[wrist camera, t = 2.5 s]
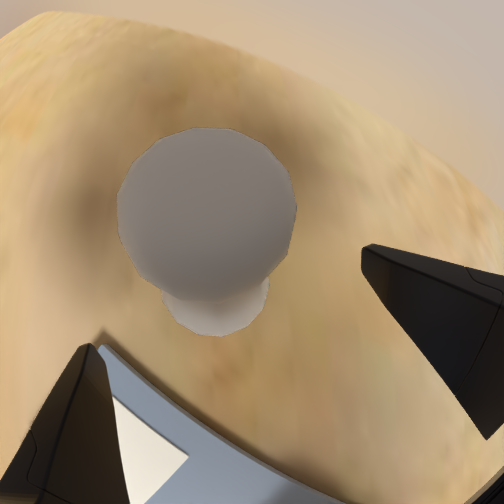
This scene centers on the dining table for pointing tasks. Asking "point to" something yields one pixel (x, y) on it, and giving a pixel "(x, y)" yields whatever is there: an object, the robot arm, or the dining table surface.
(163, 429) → the board
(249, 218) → the salt shaker
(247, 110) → the dining table surface
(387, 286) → the robot arm
